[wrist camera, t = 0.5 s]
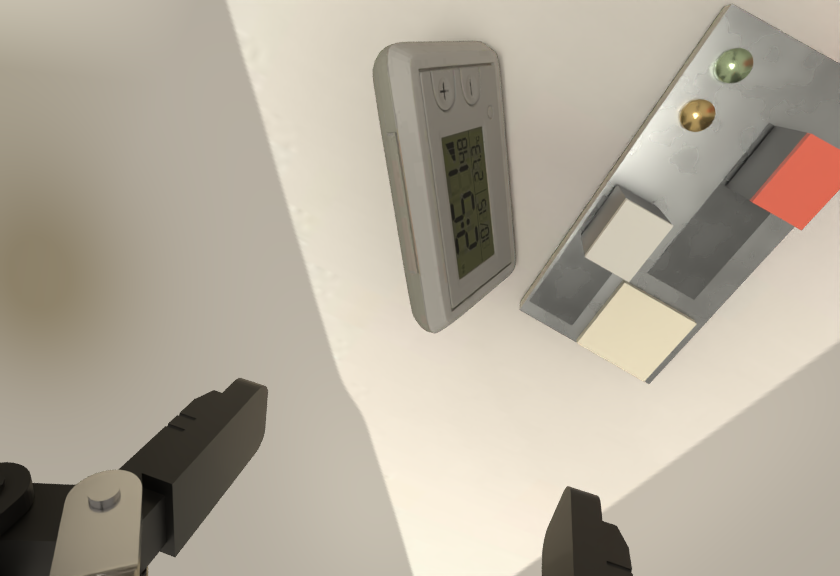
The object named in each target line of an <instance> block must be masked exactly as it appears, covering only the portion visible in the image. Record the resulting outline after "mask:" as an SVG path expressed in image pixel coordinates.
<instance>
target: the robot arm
mask: <svg viewBox="0 0 840 576" xmlns="http://www.w3.org/2000/svg"><path fill="white" fill-rule="evenodd" d="M267 397H268V389H267V387H266V386H264V385H261V384H257V383H255V382H252V381H248V380H245V379H242V378H238V379H236V380H235V381H234V382H233V383H232V384H231V385H230V386H229V387H228V388H227V389H226V390H225V391H224V392H223V393H220V392H218V391H215V390H214V391H211V392H209V393H207V394H205V395H203V396H201V397H198V398H196V399H194V400H193V401H192V402H191V403H190V404H189V405H188V406H187V407H186V408H185V409H183V410H182V411H181V412H180V415H179V416H176V417H175V418H174V419H173V420H172V421H171V422H169V423H168V426H167V427H166V426H165V427H164V428H163V429H162V430H161V431H160V432H159V433H158V434H157V435H156V436H154V437H153V438H152V439H151V440H150V441H149V442H148V443H147V444H146V445H145V446H144V447H143V448H142V449H140V450H139V451H138V452H137V453H136V454H135V455H134V456H133V457H132V458H131V459H130V460H129V461H127V462H126V463H125V464H124V465H123V466H122V467H121V468H120V469H118V470H106V471H102V472H99V473H95V474H93V475H91V476H88V477H87V478H85V479H83V480H82V481H80V482H79V483H78V484H76V485H63V484H42V483H32V480H31V475H30V472H29V471H28V469H27V468H25V467H24V466H22V465H19V464H16V463H8V462H4V463H0V576H148V565H149V564H150V562H151V561H152V560H153V559H154V558H155V556H156V555H157V554H158V552H159V551H160V552H163V553H166V554H168V555H171V556H173V557H176V556H177V554H178V553H179V552H180V550H181V549H182V548H183V546H184V545H185V544H186V543H187V541H188V540H189V539H190V537H191V536H192V535H193V533H194V532H195V531H196V530H197V528H198V527H199V526H200V524H201V523H202V522H203V521H204V519H205V518H206V517H207V515H208V514H209V513H210V511H211V510H212V509H213V508H214V506H215V505H216V504H217V502H218V501H219V499H220V498H221V497H222V496H223V495H224V493H225V492H226V491H227V489H228V488H229V487H230V486H231V484H232V483H233V481H234V480H235V479H236V478H237V476H238V475H239V474H240V473H241V471H242V470H243V469H244V467H245V466H246V465H247V463H248V462H249V461H250V460H251V458H252V457H253V456H254V454H255V453H256V452H257V450H258V448H259V446H260V444H261V442H262V440H263V437H264V433H265V424H266V411H267ZM631 570H632V567H631V560H630V554H629V547H628V546H627V544H626V542H625V540H624V538H623V536H622V535H621V533H620V531H619V529H618V527H617V526H615V525H613V524H609V523H607V522H604V521H602V512H601V503H600V498H599V497H598V496H597V495H593V494H590V493H587V492H584V491H581V490H578V489H575V488H572V487H569V486H567V487H566V488H565V490H564V492H563V494H562V497H561V499H560V501H559V503H558V505H557V508H556V510H555V512H554V514H553V517H552V519H551V521H550V523H549V526H548V528H547V531H546V534H545V539H544V544H543V551H542V576H633V574H632V573H631Z"/></svg>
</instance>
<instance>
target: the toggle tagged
mask: <svg viewBox="0 0 840 576" xmlns="http://www.w3.org/2000/svg"><path fill="white" fill-rule="evenodd" d="M726 186H727V187H728V188H730V189H732V190H733V191H735V192H736V193H738V194H740V195H741V196H743V197H744V198H746V199H748V200H749V201H751V202H752V203H754V204H756V205H758V206H760V207H761V208H763V209H765V210H767V211H768V212H770V213H772V214H774V215H775V216H777V217H779V218H781V219H782V220H784V221H786V222H788V223H790V224H791V225H793V226H795V227H797V228H798V229H800V230H802V229H803V228H804V227H805V226H806V225H807V224H808V223H809V222H810V221H811V219H812V218H813V217H814V216H815V215H816V214H817V213H818V212H819V211H820V210H821V209H822V208H823V207H824V206H825V204H826V203H827V202H828V201H829V200H830V199H831V198H832V197H833V196H834V195H835V194H836V193H837V192H838V191H839V190H840V149H838V148H836V147H834V146H832V145H831V144H829V143H827V142H825V141H824V140H822V139H820V138H818V137H816V136H815V135H813V134H811V133H807V132H802V131H798V130H793V129H789V128H784V127H779V126H775V127H774V128H773V129H772V130H771V132H770V133H769V134H768V135H767V136H766V138H765V139H764V140H763V141H762V143H761V144H760V145H759V146H758V147H757V149H756V150H755V151H754V152H753V154H752V155H751V156H750V157H749V158H748V160H747V161H746V162H745V163H744V165H743V166H742V167H741V168H740V170H739V171H738V172H737V173H736V174H735V176H734V177H733V178H732V179H731V181H730V182H729V183H728V184H727V185H726Z"/></svg>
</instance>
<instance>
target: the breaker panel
mask: <svg viewBox="0 0 840 576" xmlns="http://www.w3.org/2000/svg"><path fill="white" fill-rule="evenodd" d="M775 126H779V127H784V128H789V129H793V130H798V131H802V132H807V133H811V134H813V135H815V136H816V137H818V138H820V139H822V140H824V141H825V142H827V143H829V144H831V145H832V146H834V147H836V148H838V149H840V64H839V63H837V62H835V61H834V60H832V59H830V58H828V57H827V56H825V55H823V54H821V53H819V52H818V51H816V50H814V49H812V48H811V47H809V46H807V45H805V44H803V43H802V42H800V41H798V40H796V39H794V38H793V37H791V36H789V35H787V34H786V33H784V32H782V31H780V30H778V29H777V28H775V27H773V26H771V25H770V24H768V23H766V22H764V21H762V20H761V19H759V18H757V17H755V16H753V15H752V14H750V13H748V12H746V11H745V10H743V9H741V8H739V7H737V6H736V5H734V4H730V5H727V6H725V7H723V9H722V10H721V11H720V13H719V14H718V16H717V17H716V19H715V20H714V22H713V23H712V25H711V26H710V27H709V29H708V30H707V32H706V33H705V35H704V36H703V38H702V39H701V40H700V42H699V43H698V45H697V46H696V48H695V49H694V51H693V52H692V54H691V55H690V56H689V58H688V59H687V61H686V62H685V64H684V65H683V67H682V68H681V69H680V71H679V72H678V74H677V75H676V77H675V78H674V80H673V81H672V83H671V84H670V85H669V87H668V88H667V90H666V91H665V93H664V94H663V96H662V97H661V99H660V100H659V101H658V103H657V104H656V106H655V107H654V109H653V110H652V112H651V113H650V114H649V116H648V117H647V119H646V120H645V122H644V123H643V125H642V126H641V128H640V129H639V130H638V132H637V133H636V135H635V136H634V138H633V139H632V141H631V142H630V143H629V145H628V146H627V148H626V149H625V151H624V152H623V154H622V155H621V157H620V158H619V159H618V161H617V162H616V164H615V165H614V167H613V168H612V170H611V171H610V173H609V174H608V175H607V177H606V178H605V180H604V181H603V183H602V184H601V186H600V187H599V188H598V190H597V191H596V193H595V194H594V196H593V197H592V199H591V200H590V202H589V203H588V204H587V206H586V207H585V209H584V210H583V212H582V213H581V215H580V216H579V217H578V219H577V220H576V222H575V223H574V225H573V226H572V228H571V229H570V231H569V232H568V233H567V235H566V236H565V238H564V239H563V241H562V242H561V244H560V245H559V246H558V248H557V249H556V251H555V252H554V254H553V255H552V257H551V258H550V260H549V261H548V262H547V264H546V265H545V267H544V268H543V270H542V271H541V273H540V274H539V276H538V277H537V278H536V280H535V281H534V283H533V284H532V286H531V287H530V289H529V290H528V291H527V293H526V294H525V296H524V297H523V299H522V300H521V302H520V310H521V311H523V312H524V313H526V314H528V315H530V316H531V317H533V318H535V319H537V320H538V321H540V322H542V323H544V324H545V325H547V326H549V327H551V328H552V329H554V330H556V331H558V332H559V333H561V334H563V335H565V336H566V337H568V338H570V339H572V340H573V341H575V342H577V340H576V339H577V338H578V337H579V335H580V334H581V333H582V332H583V330H584V329H585V328H586V327H587V325H588V324H589V323H590V321H591V320H592V319H593V318H594V316H595V315H596V314H597V313H598V311H599V310H600V309H601V307H602V306H603V305H604V304H605V302H606V301H607V300H608V299H609V297H610V296H611V295H612V294H613V292H614V291H615V290H616V288H617V287H618V286H619V285H620V283H621V282H622V281H623V280H624V279H622V278H621V277H619V276H617V275H615V274H614V273H612V272H610V271H608V270H607V269H605V268H603V267H601V266H600V265H598V264H596V263H594V262H593V261H591V260H589V259H587V258H586V257H585V255H584V250H583V245H582V240H581V235H582V234H583V232H584V231H585V229H586V228H587V227H588V225H589V224H590V222H591V221H592V219H593V218H594V217H595V215H596V214H597V212H598V211H599V209H600V208H601V207H602V205H603V204H604V202H605V201H606V200H607V198H608V197H609V195H610V194H611V192H612V191H613V190H614V188H615V187H616V185H617V184H618V185H619V186H621V187H623V188H625V189H626V190H628V191H630V192H632V193H633V194H635V195H637V196H639V197H641V198H642V199H644V200H646V201H648V202H649V203H651V204H653V205H655V206H656V207H658V208H659V209H660V210H661V211H662V213H663V214H664V215H665V216H666V217H667V219H668V220H669V221H670V222H671V223H672V225H673V227H672V229H671V230H670V231H669V233H668V234H667V235H666V236H665V238H664V239H663V240H662V241H661V243H660V244H659V245H658V246H657V248H656V249H655V250H654V251H653V253H652V254H651V255H650V256H649V258H648V259H647V260H646V261H645V263H644V264H643V265H642V266H641V268H640V269H639V270H638V272H637V273H636V274H635V275H634V277H633V278H632V279H631V280H630V282H629V283H630V284H632V285H634V286H636V287H637V288H639V289H641V290H643V291H644V292H646V293H648V294H650V295H652V296H653V297H655V298H657V299H659V300H660V301H662V302H664V303H666V304H667V305H669V306H671V307H673V308H674V309H676V310H678V311H680V312H681V313H683V314H685V315H687V316H688V317H690V318H692V319H694V320H695V322H696V323H697V324H696V325H695V327H694V328H693V329H692V330H691V331H690V332H689V333H688V334H687V335H686V336H685V338H684V339H683V340H682V341H681V342H680V343H679V344H678V345H677V346H676V347H675V348H674V350H673V351H672V352H671V353H670V354H669V355H668V356H667V357H666V358H665V359H664V361H663V362H662V363H661V364H660V365H659V366H658V367H657V368H656V369H655V370H654V371H653V373H652V374H651V375H650V376H649V377H648V378H647V379H646V380H645V382H647V383H648V384H650V383H651V382H652V380H653V379H654V378H655V377H656V376H657V375H658V374H659V373H660V372H661V371H662V370H663V369H664V367H665V366H666V365H667V364H668V363H669V362H670V361H671V360H672V359H673V358H674V357H675V356H676V354H677V353H678V352H679V351H680V350H681V349H682V348H683V347H684V346H685V345H686V344H687V343H688V341H689V340H690V339H691V338H692V337H693V336H694V335H695V334H696V333H697V332H698V331H699V330H700V328H701V327H702V326H703V325H704V324H705V323H706V322H707V321H708V320H709V319H710V318H711V317H712V315H713V314H714V313H715V312H716V311H717V310H718V309H719V308H720V307H721V306H722V305H723V303H724V302H725V301H726V300H727V299H728V298H729V297H730V296H731V295H732V294H733V293H734V292H735V290H736V289H737V288H738V287H739V286H740V285H741V284H742V283H743V282H744V281H745V280H746V279H747V277H748V276H749V275H750V274H751V273H752V272H753V271H754V270H755V269H756V268H757V267H758V266H759V264H760V263H761V262H762V261H763V260H764V259H765V258H766V257H767V256H768V255H769V254H770V253H771V251H772V250H773V249H774V248H775V247H776V246H777V245H778V244H779V243H780V242H781V241H782V240H783V238H784V237H785V236H786V235H787V234H788V233H789V232H790V231H791V230H792V229H793V228H794V227H795V226H793V225H791V224H790V223H788V222H786V221H784V220H782V219H781V218H779V217H777V216H775V215H774V214H772V213H770V212H768V211H767V210H765V209H763V208H761V207H760V206H758V205H756V204H754V203H752V202H751V201H749V200H748V199H746V198H744V197H743V196H741V195H740V194H738V193H736V192H735V191H733V190H732V189H730V188H728V187H727V186H726V185H727V184H728V183H729V182H730V181H731V179H732V178H733V177H734V176H735V174H736V173H737V172H738V171H739V170H740V168H741V167H742V166H743V165H744V163H745V162H746V161H747V160H748V158H749V157H750V156H751V155H752V154H753V152H754V151H755V150H756V149H757V147H758V146H759V145H760V144H761V143H762V141H763V140H764V139H765V138H766V136H767V135H768V134H769V133H770V132H771V130H772V129H773V128H774V127H775ZM625 281H626V280H625ZM627 282H628V281H627Z"/></svg>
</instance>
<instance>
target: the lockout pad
mask: <svg viewBox="0 0 840 576" xmlns="http://www.w3.org/2000/svg"><path fill="white" fill-rule="evenodd" d="M696 324H697V323H696V322H695V320H694V319H692V318H690V317H688V316H687V315H685V314H683V313H681V312H680V311H678V310H676V309H674V308H673V307H671V306H669V305H667V304H666V303H664V302H662V301H660V300H659V299H657V298H655V297H653V296H652V295H650V294H648V293H646V292H644V291H643V290H641V289H639V288H637V287H636V286H634V285H632V284H630V283H629V282H627V281H625V280H623V281H622V282H621V283H620V285H619V286H618V287H617V288H616V290H615V291H614V292H613V294H612V295H611V296H610V297H609V299H608V300H607V301H606V302H605V304H604V305H603V306H602V307H601V309H600V310H599V311H598V313H597V314H596V315H595V316H594V318H593V319H592V320H591V321H590V323H589V324H588V325H587V327H586V328H585V329H584V330H583V332H582V333H581V334H580V335H579V337H578V338H577V339H576V340H577V344H579V345H581V346H582V347H584V348H586V349H588V350H589V351H591V352H593V353H595V354H596V355H598V356H600V357H602V358H603V359H605V360H607V361H609V362H610V363H612V364H614V365H616V366H617V367H619V368H621V369H623V370H624V371H626V372H628V373H630V374H631V375H633V376H635V377H637V378H638V379H640V380H642V381H645V380H646V379H647V378H648V377H649V376H650V375H651V374H652V373H653V371H654V370H655V369H656V368H657V367H658V366H659V365H660V364H661V363H662V362H663V361H664V359H665V358H666V357H667V356H668V355H669V354H670V353H671V352H672V351H673V350H674V348H675V347H676V346H677V345H678V344H679V343H680V342H681V341H682V340H683V339H684V338H685V336H686V335H687V334H688V333H689V332H690V331H691V330H692V329H693V328H694V327H695V325H696Z"/></svg>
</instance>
